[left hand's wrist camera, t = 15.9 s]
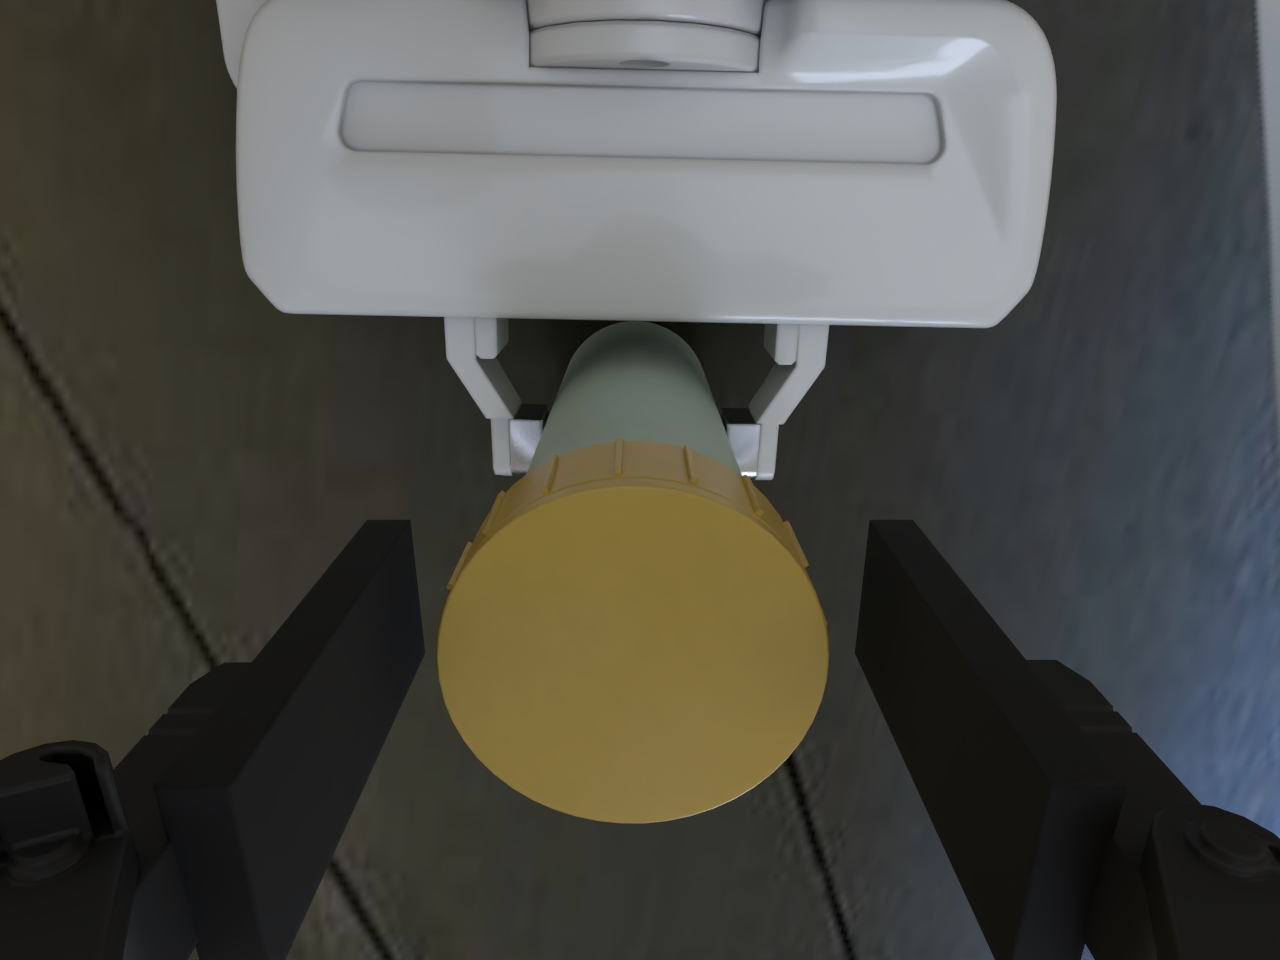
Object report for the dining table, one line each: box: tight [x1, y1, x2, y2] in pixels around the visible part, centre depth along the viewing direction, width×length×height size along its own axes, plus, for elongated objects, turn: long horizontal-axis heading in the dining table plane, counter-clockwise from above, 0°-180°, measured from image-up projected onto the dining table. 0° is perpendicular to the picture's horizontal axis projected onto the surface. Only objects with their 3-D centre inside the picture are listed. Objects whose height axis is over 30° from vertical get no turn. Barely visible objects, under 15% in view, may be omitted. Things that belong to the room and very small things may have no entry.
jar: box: [526, 321, 742, 476], centre depth 21 cm, size 5×5×18 cm
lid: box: [436, 438, 829, 823], centre depth 13 cm, size 6×6×2 cm
